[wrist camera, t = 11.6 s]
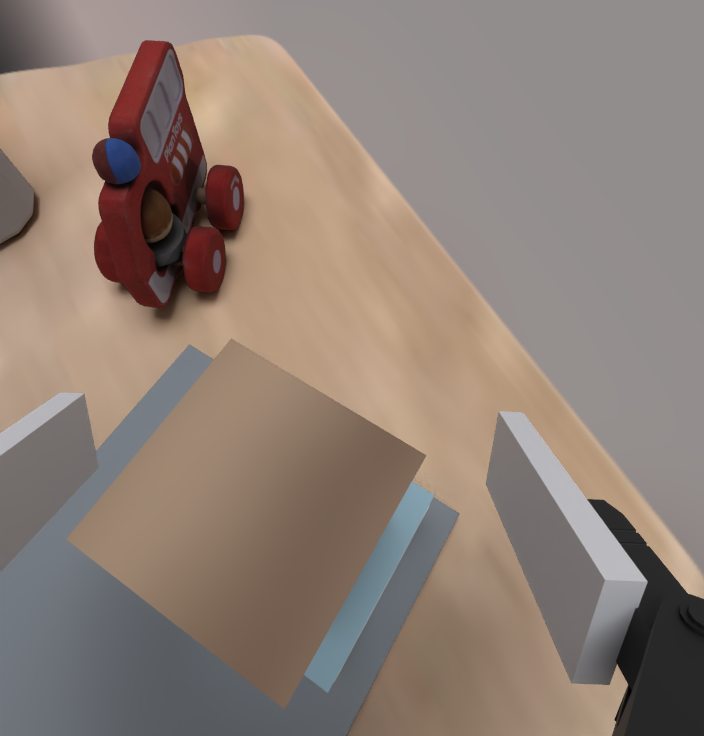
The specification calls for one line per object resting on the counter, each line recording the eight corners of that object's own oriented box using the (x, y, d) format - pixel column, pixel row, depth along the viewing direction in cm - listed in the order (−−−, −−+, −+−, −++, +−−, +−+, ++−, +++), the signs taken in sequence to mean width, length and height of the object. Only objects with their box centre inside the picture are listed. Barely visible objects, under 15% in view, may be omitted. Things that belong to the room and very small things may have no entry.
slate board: (-85, 679, 21) (-111, 686, 20) (195, 353, 28) (188, 343, 27) (219, 973, 17) (210, 1002, 16) (454, 515, 24) (459, 513, 23)
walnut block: (210, 551, 18) (65, 539, 8) (284, 444, 19) (231, 338, 10) (316, 628, 17) (284, 709, 7) (384, 509, 18) (426, 455, 9)
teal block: (194, 561, 22) (155, 561, 17) (289, 427, 25) (277, 397, 20) (331, 664, 20) (327, 693, 16) (416, 508, 23) (434, 495, 19)
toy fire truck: (105, 316, 29) (-11, 195, 19) (162, 174, 34) (91, 21, 24) (212, 330, 29) (146, 214, 19) (253, 184, 34) (217, 34, 24)
